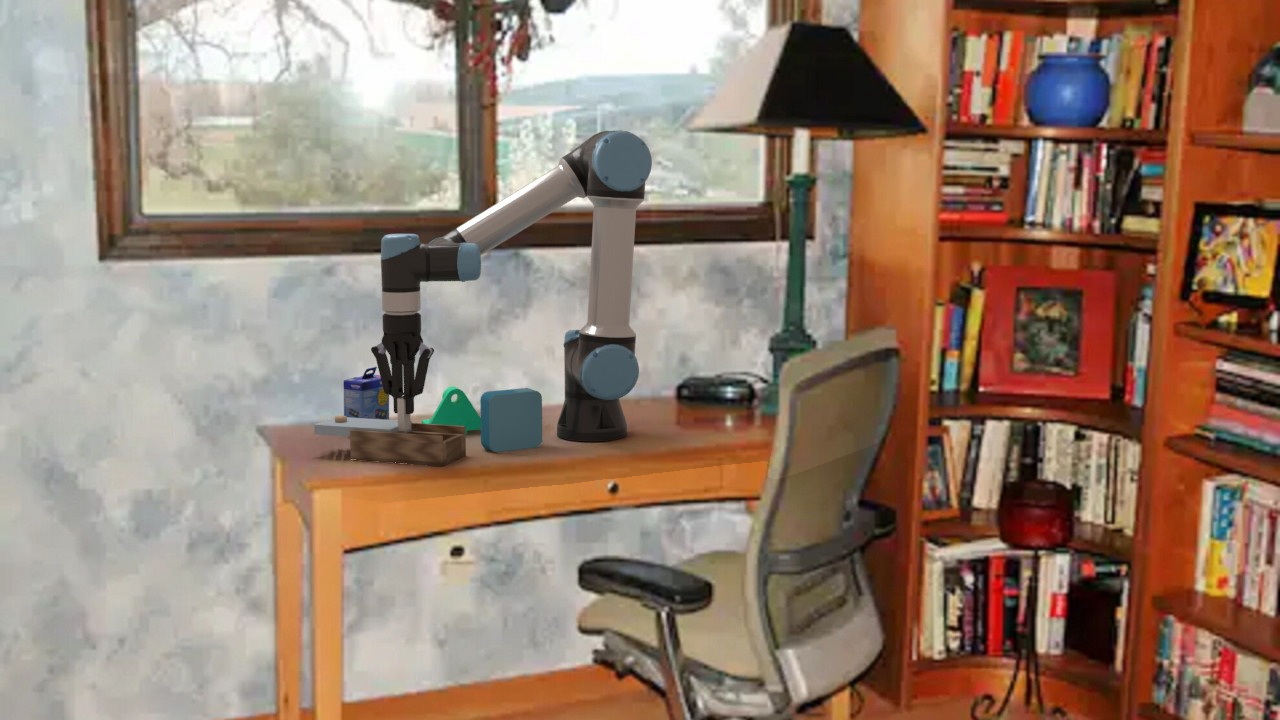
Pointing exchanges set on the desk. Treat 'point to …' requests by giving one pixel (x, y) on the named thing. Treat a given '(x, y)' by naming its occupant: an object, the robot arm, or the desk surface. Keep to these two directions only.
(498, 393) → the data package
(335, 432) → the cover plate
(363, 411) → the ink cartridge box
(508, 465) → the desk surface
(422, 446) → the pencil box
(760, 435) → the desk surface
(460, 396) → the camera mount
